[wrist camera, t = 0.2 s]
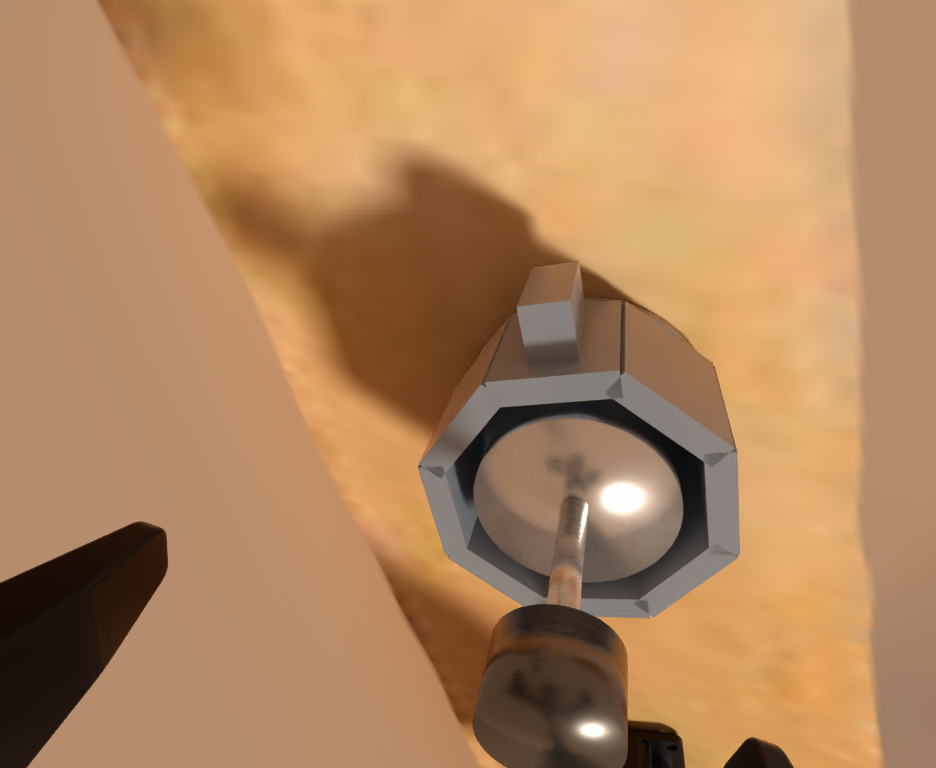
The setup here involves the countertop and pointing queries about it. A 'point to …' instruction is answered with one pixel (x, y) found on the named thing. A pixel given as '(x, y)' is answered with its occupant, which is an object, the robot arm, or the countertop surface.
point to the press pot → (603, 390)
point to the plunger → (568, 581)
